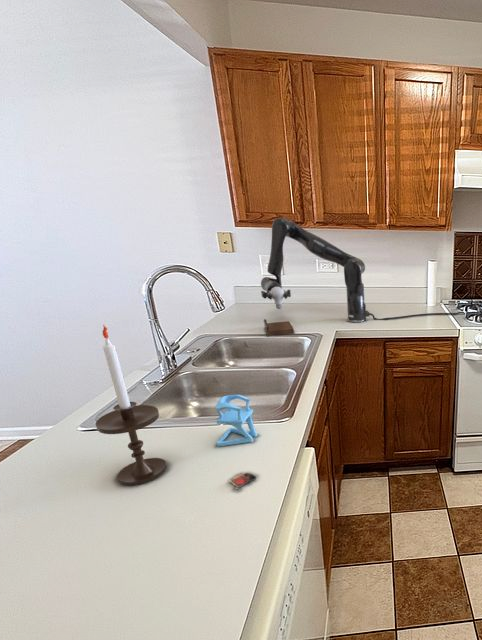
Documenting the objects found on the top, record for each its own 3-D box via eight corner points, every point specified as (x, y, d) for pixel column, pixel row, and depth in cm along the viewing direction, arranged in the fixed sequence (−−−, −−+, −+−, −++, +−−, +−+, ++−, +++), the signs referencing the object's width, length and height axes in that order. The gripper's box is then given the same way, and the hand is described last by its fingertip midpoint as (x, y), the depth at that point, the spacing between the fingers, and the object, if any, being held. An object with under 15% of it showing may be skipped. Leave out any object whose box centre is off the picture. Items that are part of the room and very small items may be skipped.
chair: (249, 447, 101) (242, 404, 96) (215, 446, 100) (207, 404, 96) (260, 431, 108) (255, 391, 104) (230, 430, 108) (223, 390, 103)
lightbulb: (279, 311, 189) (277, 288, 185) (269, 309, 191) (267, 287, 187) (288, 308, 194) (286, 286, 190) (278, 307, 196) (276, 285, 192)
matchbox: (258, 476, 89) (257, 474, 89) (240, 490, 85) (240, 488, 85) (241, 471, 91) (241, 470, 91) (223, 485, 86) (223, 483, 86)
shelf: (289, 325, 204) (288, 317, 203) (294, 333, 192) (293, 324, 190) (264, 328, 199) (263, 319, 198) (267, 336, 187) (266, 327, 185)
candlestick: (176, 474, 90) (141, 325, 77) (117, 495, 83) (67, 335, 70) (165, 453, 97) (131, 314, 85) (110, 471, 90) (64, 322, 78)
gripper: (258, 283, 198) (261, 290, 184) (288, 282, 204) (293, 288, 190) (260, 298, 201) (263, 305, 187) (290, 296, 207) (294, 303, 193)
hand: (278, 297), depth 188 cm, fingers closed on lightbulb, 6 cm apart
